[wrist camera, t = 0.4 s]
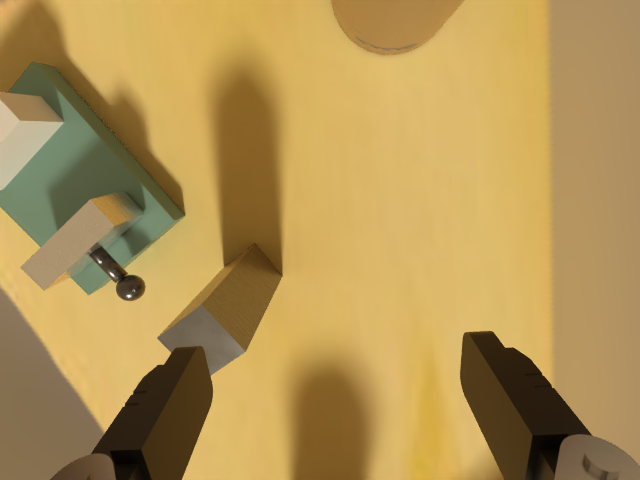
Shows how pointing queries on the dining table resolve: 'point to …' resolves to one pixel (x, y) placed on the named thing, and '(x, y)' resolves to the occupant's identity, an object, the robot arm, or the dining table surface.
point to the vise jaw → (89, 245)
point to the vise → (71, 169)
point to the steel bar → (226, 310)
